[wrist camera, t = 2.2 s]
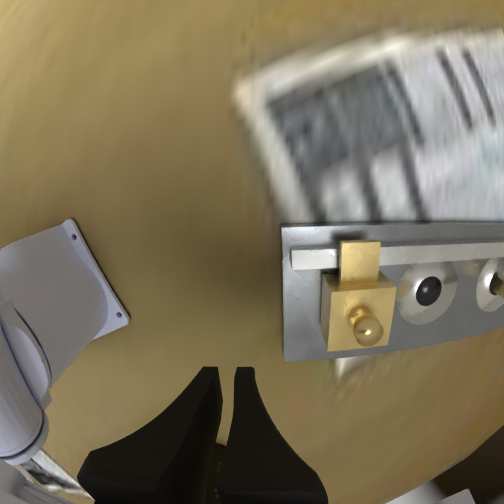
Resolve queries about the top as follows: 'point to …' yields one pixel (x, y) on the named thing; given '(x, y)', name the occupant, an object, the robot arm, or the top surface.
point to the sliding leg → (357, 299)
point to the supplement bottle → (214, 475)
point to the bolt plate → (398, 281)
